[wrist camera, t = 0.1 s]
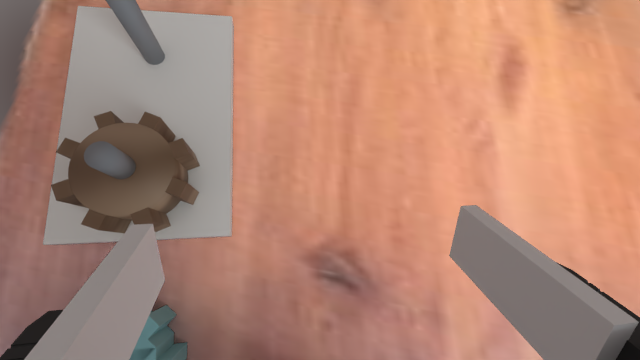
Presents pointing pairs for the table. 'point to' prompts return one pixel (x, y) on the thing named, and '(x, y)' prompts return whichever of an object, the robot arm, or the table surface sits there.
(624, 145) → the table surface
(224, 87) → the gear board
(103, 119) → the walnut gear
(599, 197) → the table surface
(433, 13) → the table surface
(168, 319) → the teal gear
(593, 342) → the robot arm
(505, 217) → the table surface
